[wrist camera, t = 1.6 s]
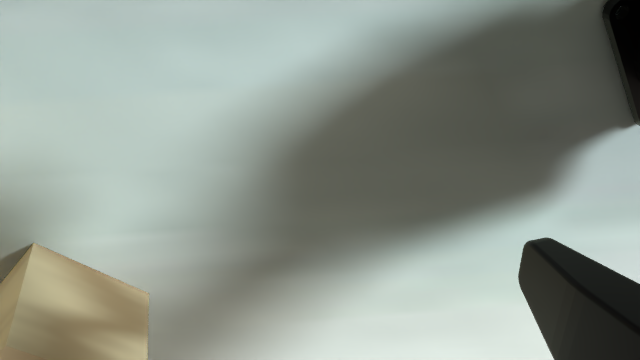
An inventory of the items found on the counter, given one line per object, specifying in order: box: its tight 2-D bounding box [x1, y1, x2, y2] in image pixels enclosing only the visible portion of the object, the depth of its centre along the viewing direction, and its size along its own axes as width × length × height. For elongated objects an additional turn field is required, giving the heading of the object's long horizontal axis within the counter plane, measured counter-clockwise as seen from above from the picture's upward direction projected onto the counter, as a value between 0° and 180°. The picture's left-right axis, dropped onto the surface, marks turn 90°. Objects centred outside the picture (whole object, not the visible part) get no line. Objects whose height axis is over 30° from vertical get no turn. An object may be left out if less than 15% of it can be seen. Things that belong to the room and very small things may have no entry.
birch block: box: [0, 243, 149, 360], centre depth 22 cm, size 5×5×5 cm
